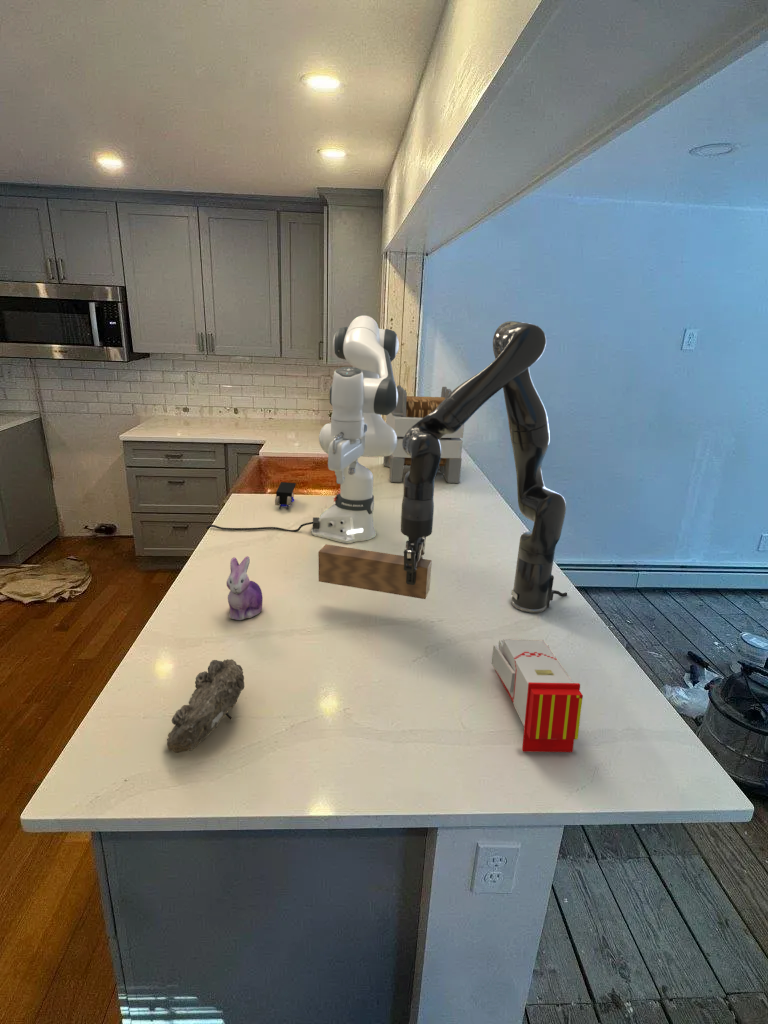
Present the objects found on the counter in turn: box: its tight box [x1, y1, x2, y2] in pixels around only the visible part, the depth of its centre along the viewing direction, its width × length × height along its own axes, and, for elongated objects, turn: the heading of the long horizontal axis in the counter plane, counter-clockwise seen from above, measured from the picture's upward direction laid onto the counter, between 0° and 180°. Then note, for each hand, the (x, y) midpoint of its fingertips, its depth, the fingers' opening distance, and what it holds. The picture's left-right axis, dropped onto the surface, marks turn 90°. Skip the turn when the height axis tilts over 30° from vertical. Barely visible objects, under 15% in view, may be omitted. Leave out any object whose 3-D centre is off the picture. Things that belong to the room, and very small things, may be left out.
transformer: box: [383, 384, 465, 484], centre depth 268 cm, size 34×33×41 cm
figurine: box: [226, 555, 264, 621], centre depth 142 cm, size 9×10×15 cm
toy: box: [491, 638, 584, 753], centre depth 114 cm, size 12×13×30 cm
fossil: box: [166, 658, 245, 754], centre depth 106 cm, size 22×10×15 cm
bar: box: [317, 543, 433, 600], centre depth 141 cm, size 28×5×8 cm, turn 74°
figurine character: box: [274, 481, 297, 510], centre depth 222 cm, size 7×8×15 cm
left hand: (346, 478), depth 158 cm, fingers open, 8 cm apart
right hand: (413, 578), depth 139 cm, fingers closed on bar, 5 cm apart
